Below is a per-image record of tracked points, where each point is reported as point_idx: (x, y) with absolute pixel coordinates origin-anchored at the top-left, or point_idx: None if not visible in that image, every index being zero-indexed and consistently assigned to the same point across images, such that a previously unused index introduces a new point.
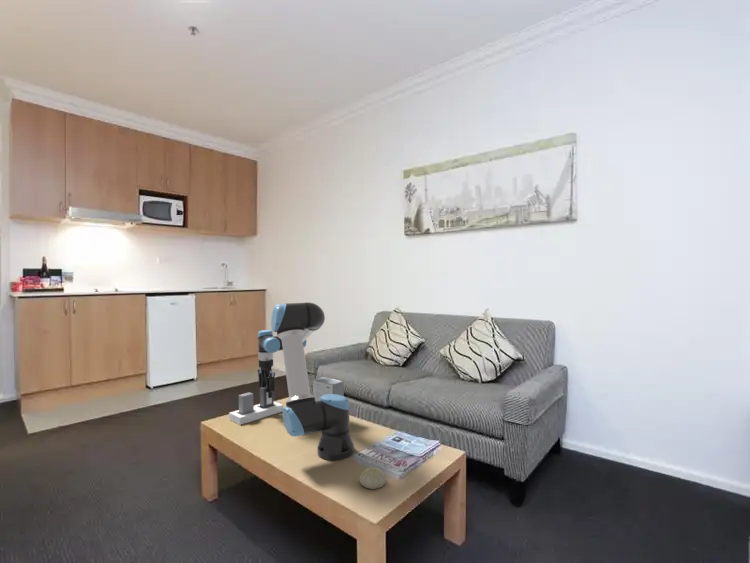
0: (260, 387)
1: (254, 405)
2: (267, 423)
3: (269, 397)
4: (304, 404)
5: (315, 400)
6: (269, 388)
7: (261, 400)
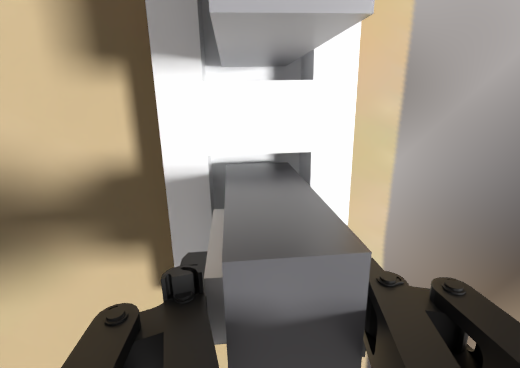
0: (367, 269)
1: (351, 146)
2: (23, 79)
3: (185, 257)
4: None
5: None
6: (114, 344)
7: (274, 186)
